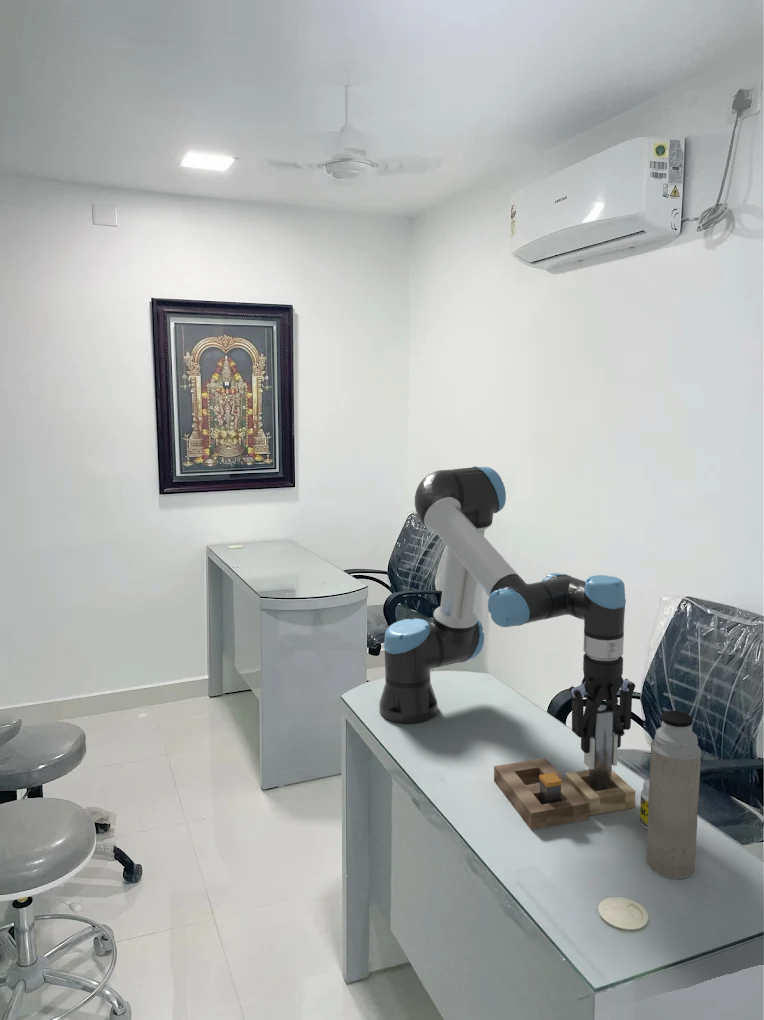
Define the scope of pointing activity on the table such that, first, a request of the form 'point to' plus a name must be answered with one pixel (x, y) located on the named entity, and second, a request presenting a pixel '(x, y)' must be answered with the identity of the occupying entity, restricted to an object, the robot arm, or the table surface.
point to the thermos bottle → (673, 797)
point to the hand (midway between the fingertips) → (600, 764)
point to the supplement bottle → (644, 804)
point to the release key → (550, 788)
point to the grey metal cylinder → (602, 749)
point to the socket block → (538, 794)
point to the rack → (603, 793)
